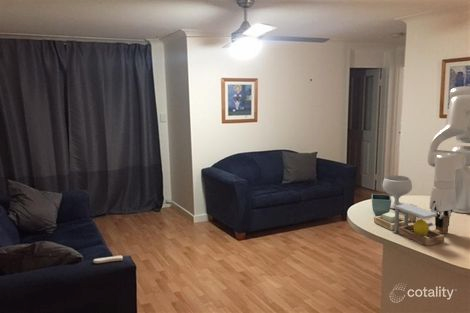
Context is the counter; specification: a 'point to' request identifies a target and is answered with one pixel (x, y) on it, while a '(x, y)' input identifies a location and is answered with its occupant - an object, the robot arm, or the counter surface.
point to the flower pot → (381, 204)
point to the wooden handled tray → (434, 234)
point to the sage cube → (389, 217)
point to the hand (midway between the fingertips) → (441, 225)
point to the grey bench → (412, 210)
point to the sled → (392, 226)
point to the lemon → (421, 227)
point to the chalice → (397, 187)
